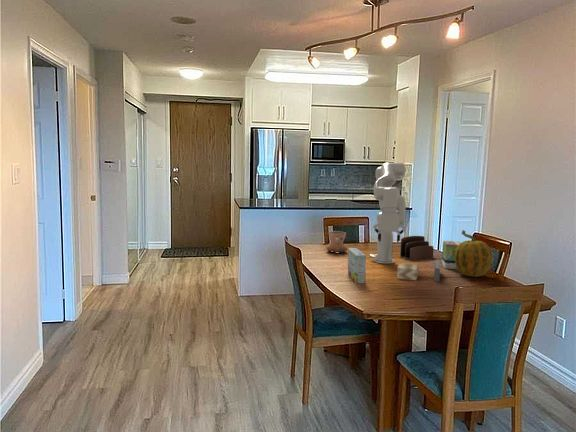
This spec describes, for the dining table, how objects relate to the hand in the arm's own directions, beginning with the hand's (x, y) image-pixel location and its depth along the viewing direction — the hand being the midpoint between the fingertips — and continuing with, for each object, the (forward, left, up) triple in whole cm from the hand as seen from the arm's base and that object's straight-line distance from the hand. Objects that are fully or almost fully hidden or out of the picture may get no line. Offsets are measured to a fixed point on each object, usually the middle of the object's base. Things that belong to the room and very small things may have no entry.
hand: (388, 241), depth 261 cm
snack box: (-15, -14, -19) cm, 28 cm away
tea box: (+35, +36, -19) cm, 53 cm away
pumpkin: (+45, +14, -19) cm, 51 cm away
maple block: (+11, 0, -19) cm, 22 cm away
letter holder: (+14, +57, -19) cm, 62 cm away
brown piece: (-40, +59, -19) cm, 74 cm away
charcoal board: (+26, +5, -19) cm, 32 cm away
